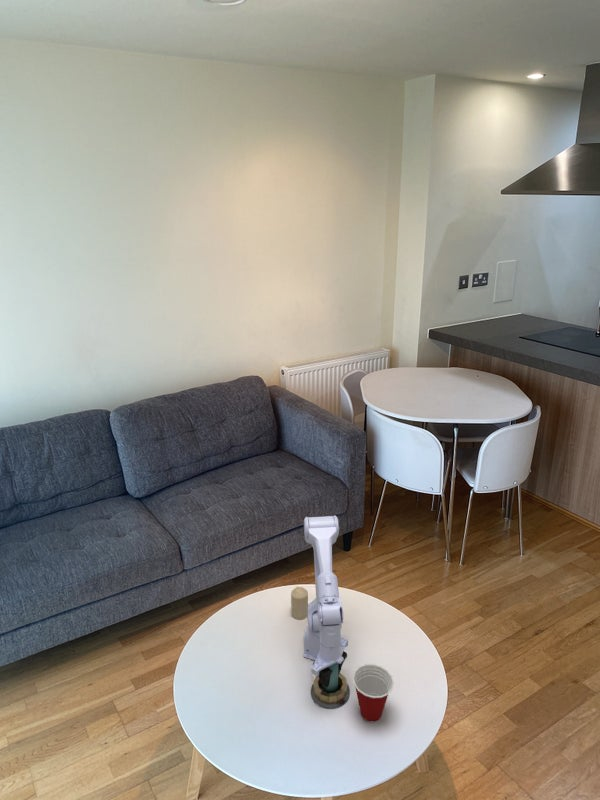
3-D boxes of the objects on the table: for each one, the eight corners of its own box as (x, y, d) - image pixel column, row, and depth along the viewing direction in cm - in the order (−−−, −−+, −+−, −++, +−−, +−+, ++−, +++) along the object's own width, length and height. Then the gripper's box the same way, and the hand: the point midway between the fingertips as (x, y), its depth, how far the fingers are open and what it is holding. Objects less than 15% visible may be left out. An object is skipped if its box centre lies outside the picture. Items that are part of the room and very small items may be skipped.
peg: (320, 689, 164) (319, 667, 161) (325, 678, 168) (325, 656, 165) (335, 694, 162) (335, 671, 160) (340, 682, 166) (340, 660, 163)
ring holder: (304, 701, 163) (304, 691, 162) (319, 672, 173) (319, 663, 172) (341, 714, 159) (341, 704, 158) (355, 684, 168) (355, 675, 167)
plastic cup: (383, 737, 152) (384, 702, 148) (345, 720, 157) (345, 685, 153) (398, 706, 161) (400, 672, 157) (361, 691, 166) (362, 657, 162)
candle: (296, 622, 193) (295, 596, 189) (288, 611, 197) (288, 587, 194) (311, 616, 195) (310, 591, 192) (303, 606, 200) (302, 582, 196)
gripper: (325, 663, 152) (326, 703, 157) (357, 631, 162) (356, 670, 167) (304, 651, 156) (305, 690, 161) (336, 620, 167) (336, 658, 171)
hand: (330, 679), depth 164 cm, fingers closed on peg, 4 cm apart
